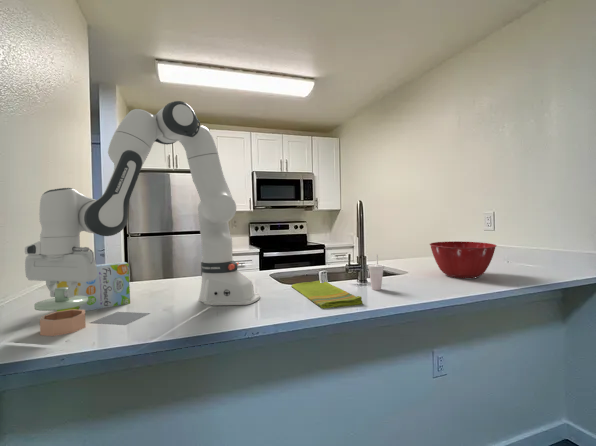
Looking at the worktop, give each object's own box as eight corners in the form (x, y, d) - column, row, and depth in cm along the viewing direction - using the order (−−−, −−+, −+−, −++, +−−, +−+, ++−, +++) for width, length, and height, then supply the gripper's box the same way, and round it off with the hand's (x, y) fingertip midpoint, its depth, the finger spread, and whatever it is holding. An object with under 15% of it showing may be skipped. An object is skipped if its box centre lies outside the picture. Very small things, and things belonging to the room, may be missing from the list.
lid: (98, 299, 95) (97, 284, 95) (60, 311, 84) (60, 294, 83) (63, 298, 98) (63, 283, 98) (22, 309, 86) (21, 292, 86)
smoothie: (386, 290, 130) (385, 255, 130) (370, 291, 130) (369, 255, 130) (382, 287, 137) (381, 253, 136) (366, 287, 137) (366, 254, 136)
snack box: (126, 302, 121) (125, 261, 121) (130, 305, 117) (129, 262, 116) (55, 314, 108) (53, 268, 107) (56, 317, 103) (54, 270, 103)
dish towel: (321, 310, 107) (321, 301, 107) (290, 288, 141) (290, 280, 141) (363, 306, 112) (363, 296, 112) (323, 285, 146) (323, 277, 146)
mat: (150, 315, 104) (150, 313, 104) (125, 326, 93) (125, 324, 93) (117, 313, 106) (117, 311, 106) (89, 324, 96) (89, 322, 96)
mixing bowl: (503, 283, 139) (502, 247, 139) (430, 280, 149) (430, 246, 149) (490, 272, 166) (490, 241, 165) (429, 269, 176) (429, 241, 175)
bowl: (94, 325, 95) (93, 310, 95) (62, 338, 85) (62, 321, 85) (65, 324, 97) (64, 308, 97) (31, 336, 87) (30, 319, 87)
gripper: (102, 246, 91) (103, 295, 92) (41, 245, 95) (43, 293, 96) (83, 248, 85) (84, 301, 85) (19, 247, 89) (21, 298, 90)
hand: (62, 297), depth 91 cm, fingers closed on lid, 3 cm apart
